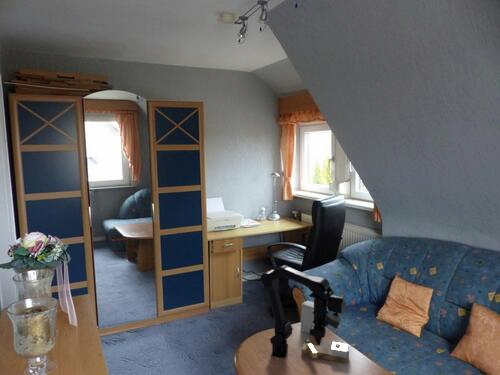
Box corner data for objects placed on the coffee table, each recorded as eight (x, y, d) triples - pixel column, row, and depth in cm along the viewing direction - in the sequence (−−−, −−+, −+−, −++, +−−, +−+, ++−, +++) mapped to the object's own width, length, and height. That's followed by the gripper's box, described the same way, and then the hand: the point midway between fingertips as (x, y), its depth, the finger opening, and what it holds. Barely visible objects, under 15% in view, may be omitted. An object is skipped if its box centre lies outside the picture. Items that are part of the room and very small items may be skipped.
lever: (304, 345, 173) (304, 339, 173) (309, 344, 174) (309, 338, 174) (312, 358, 163) (312, 351, 163) (317, 357, 163) (318, 351, 163)
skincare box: (300, 330, 194) (300, 303, 192) (306, 326, 199) (306, 299, 197) (314, 335, 189) (315, 307, 187) (320, 331, 194) (320, 303, 192)
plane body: (301, 355, 171) (301, 349, 171) (303, 349, 176) (303, 343, 176) (348, 364, 164) (348, 357, 164) (348, 357, 170) (349, 351, 169)
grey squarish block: (331, 355, 166) (331, 347, 166) (332, 347, 172) (332, 340, 172) (347, 358, 164) (347, 350, 163) (348, 350, 170) (348, 343, 169)
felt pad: (318, 349, 176) (318, 349, 176) (320, 342, 182) (320, 341, 182) (335, 352, 173) (335, 352, 173) (337, 345, 180) (337, 344, 180)
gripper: (337, 320, 148) (336, 357, 150) (341, 301, 165) (340, 334, 167) (309, 316, 151) (308, 352, 153) (316, 298, 169) (315, 330, 171)
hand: (319, 342), depth 161 cm, fingers open, 5 cm apart
